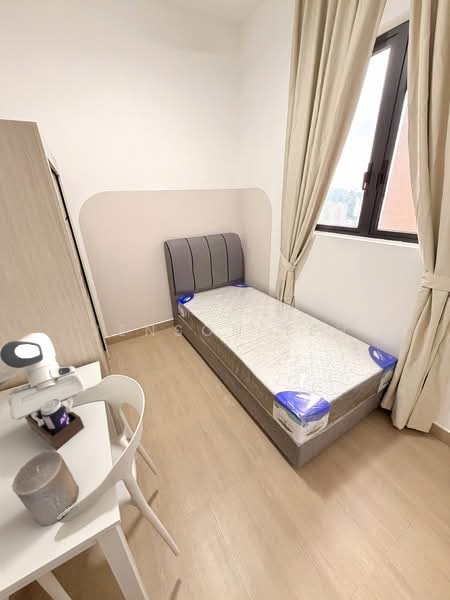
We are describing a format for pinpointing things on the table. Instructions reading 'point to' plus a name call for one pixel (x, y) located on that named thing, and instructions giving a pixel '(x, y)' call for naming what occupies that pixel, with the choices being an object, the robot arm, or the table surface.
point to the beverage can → (54, 416)
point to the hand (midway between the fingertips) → (56, 419)
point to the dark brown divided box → (63, 434)
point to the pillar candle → (46, 487)
